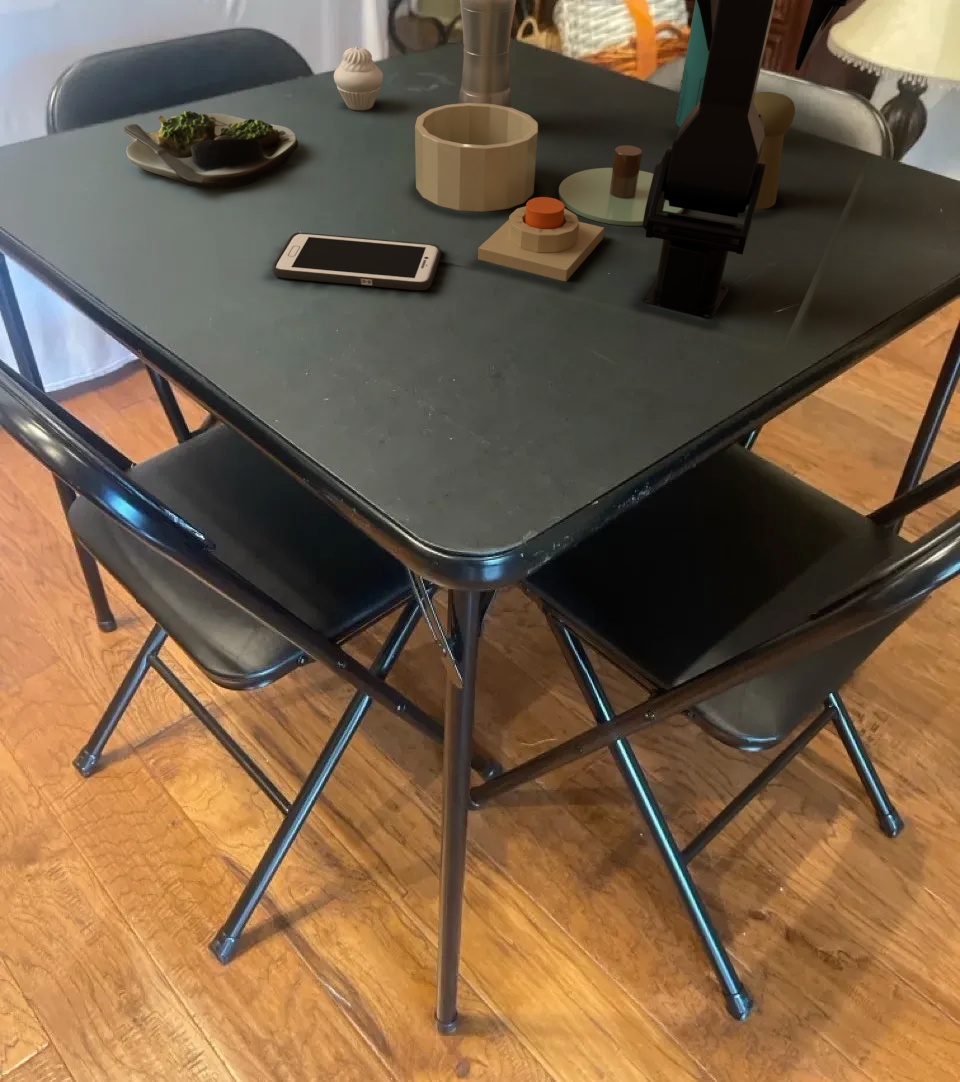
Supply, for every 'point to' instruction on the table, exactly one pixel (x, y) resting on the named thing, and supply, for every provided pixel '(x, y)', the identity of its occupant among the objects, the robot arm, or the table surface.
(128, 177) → the table surface
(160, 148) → the salad plate
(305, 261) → the cell phone
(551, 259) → the control block
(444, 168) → the pot
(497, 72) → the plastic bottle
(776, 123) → the cork
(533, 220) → the button
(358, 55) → the muffin
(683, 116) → the beverage bottle
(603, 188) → the lid
